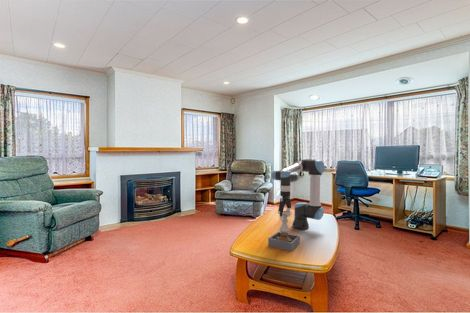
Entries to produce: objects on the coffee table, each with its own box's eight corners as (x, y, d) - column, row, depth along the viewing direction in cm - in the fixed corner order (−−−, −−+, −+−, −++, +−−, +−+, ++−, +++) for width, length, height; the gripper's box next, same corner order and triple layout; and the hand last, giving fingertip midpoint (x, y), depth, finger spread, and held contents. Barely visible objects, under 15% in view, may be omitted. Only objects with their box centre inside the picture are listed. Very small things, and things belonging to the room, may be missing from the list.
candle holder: (279, 246, 188) (280, 214, 188) (274, 240, 199) (275, 210, 198) (293, 245, 190) (294, 213, 190) (288, 240, 201) (288, 210, 200)
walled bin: (277, 238, 207) (277, 231, 207) (299, 243, 197) (299, 236, 197) (268, 245, 192) (268, 238, 192) (291, 251, 182) (291, 243, 182)
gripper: (286, 188, 206) (286, 213, 207) (274, 192, 185) (273, 221, 186) (295, 189, 202) (295, 215, 203) (283, 193, 181) (283, 223, 182)
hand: (284, 218), depth 194 cm, fingers open, 13 cm apart
